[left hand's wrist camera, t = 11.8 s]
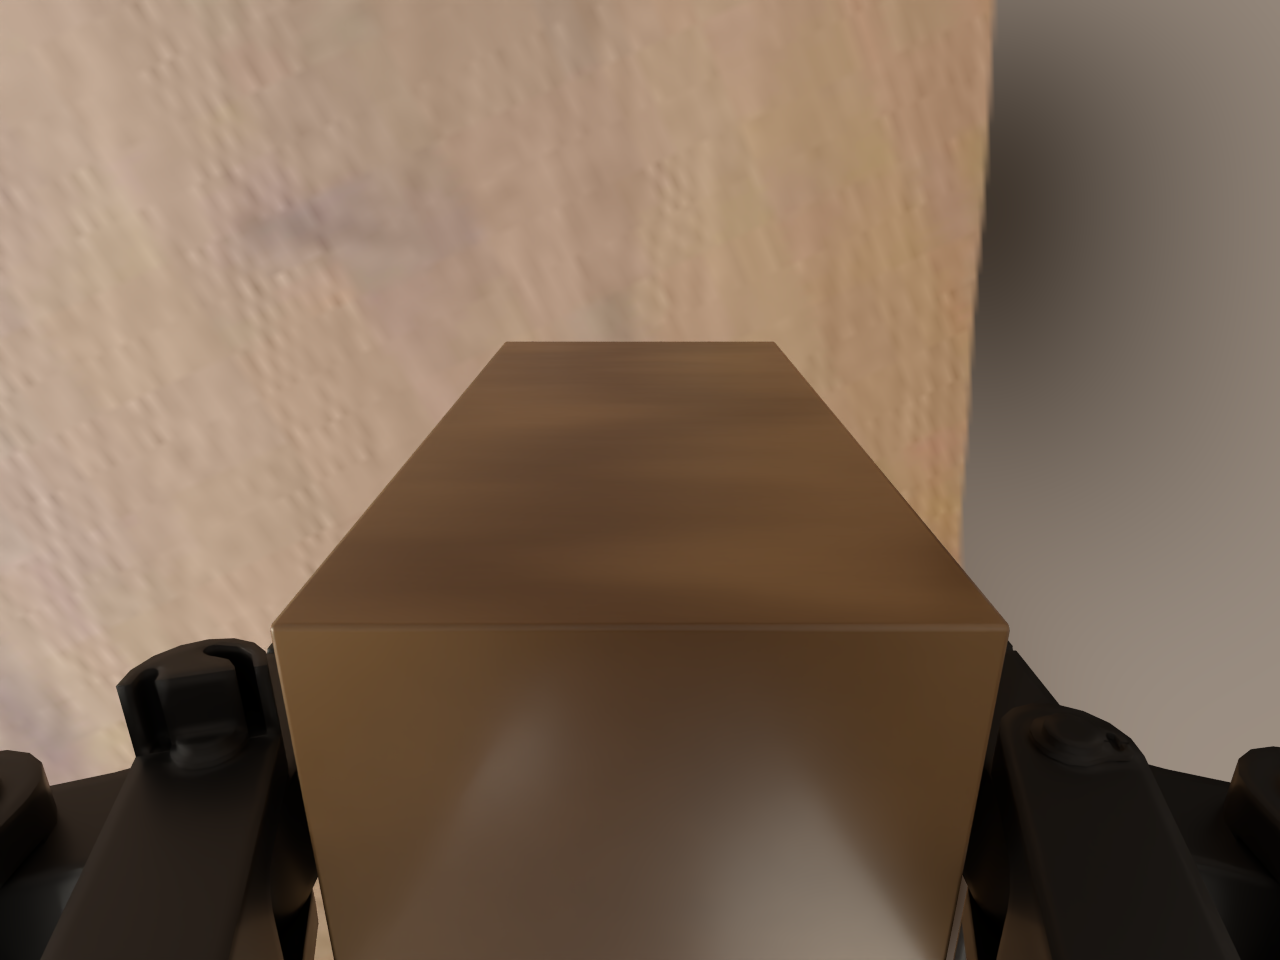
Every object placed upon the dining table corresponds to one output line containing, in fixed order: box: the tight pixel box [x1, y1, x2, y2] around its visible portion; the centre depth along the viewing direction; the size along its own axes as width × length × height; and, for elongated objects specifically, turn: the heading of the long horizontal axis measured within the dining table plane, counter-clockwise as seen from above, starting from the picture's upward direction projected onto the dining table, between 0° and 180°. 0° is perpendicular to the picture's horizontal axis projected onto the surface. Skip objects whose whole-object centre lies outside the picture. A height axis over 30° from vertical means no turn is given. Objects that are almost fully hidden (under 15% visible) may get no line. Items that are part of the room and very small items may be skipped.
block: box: [270, 342, 1010, 960], centre depth 12 cm, size 5×6×10 cm
